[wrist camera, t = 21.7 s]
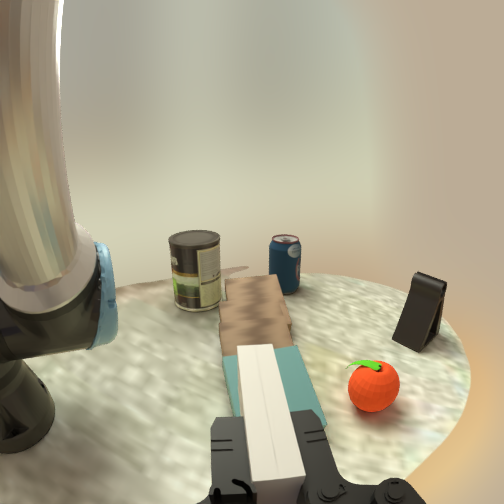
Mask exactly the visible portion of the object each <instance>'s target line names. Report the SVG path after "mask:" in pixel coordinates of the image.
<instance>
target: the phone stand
mask: <svg viewBox="0 0 504 504" xmlns="http://www.w3.org/2000/svg"><path fill="white" fill-rule="evenodd" d="M446 288H447V282H445V281H443V280H440V279H437V278H434V277H432V276H429V275H426V274H423V273H421V272H417V273H415V274H414V276H413V278H412V281H411V288H410V291H409V294H408V297H407V300H406V303H405V306H404V308H403V311H402V314H401V316H400V319H399V322H398V324H397V327H396V329H395V332H394V334H393V337H392V339H393V340H395V341H397V342H399V343H401V344H402V345H404V346H406V347H408V348H410V349H412V350H414V351H416V352H418V353H419V352H420V351H421V350H422V349H423V348H424V347H425V346H426V345H427V344H428V343H429V342H430V341H431V340H432V339H433V338H434V337H435V336H436V335H437V334H438V333H439V329H440V323H441V317H442V310H443V303H444V296H445V292H446Z"/></svg>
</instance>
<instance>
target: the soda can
mask: <svg viewBox="0 0 504 504" xmlns="http://www.w3.org/2000/svg"><path fill="white" fill-rule="evenodd" d="M300 262H301V245H300V242H299V238H298V237H296V236H293V235H285V234H284V235H276V236H273V237H272V241H271V243H270V246H269V275H274V274H276V275H277V278H278V281H279V285H280V288H281V291H282V294H290V293H293V292H295V291H296V289H297V288H298V286H299V282H300Z"/></svg>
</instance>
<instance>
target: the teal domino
mask: <svg viewBox="0 0 504 504" xmlns="http://www.w3.org/2000/svg"><path fill="white" fill-rule="evenodd" d="M274 353H275V357H276V361H277V365H278V369H279V373H280V377H281V380H282V384H283V388H284V392H285V396H286V400H287V404H288V408H289V412H292V411H301V410H309V409H312V410H313V411H314V412H315V414H316V415H317V416H318V417H319V418H320V420H321V423H322V425H323V428H325V427H326V425H327V422H326V420H325V417H324V414H323V412H322V409H321V406H320V404H319V401H318V399H317V396H316V393H315V391H314V388H313V386H312V383H311V380H310V378H309V375H308V373H307V370H306V368H305V365H304V362H303V360H302V357H301V355H300V352H299V349H298V347H297V345H295V346H289V347H284V348H278V349H274ZM222 367H223V371H224V376H225V381H226V385H227V390H228V394H229V398H230V403H231V407H232V411H233V416H234V417H239V416H241V414H240V404H239V394H238V365H237V355H232V356H225V357H223V361H222Z"/></svg>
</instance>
